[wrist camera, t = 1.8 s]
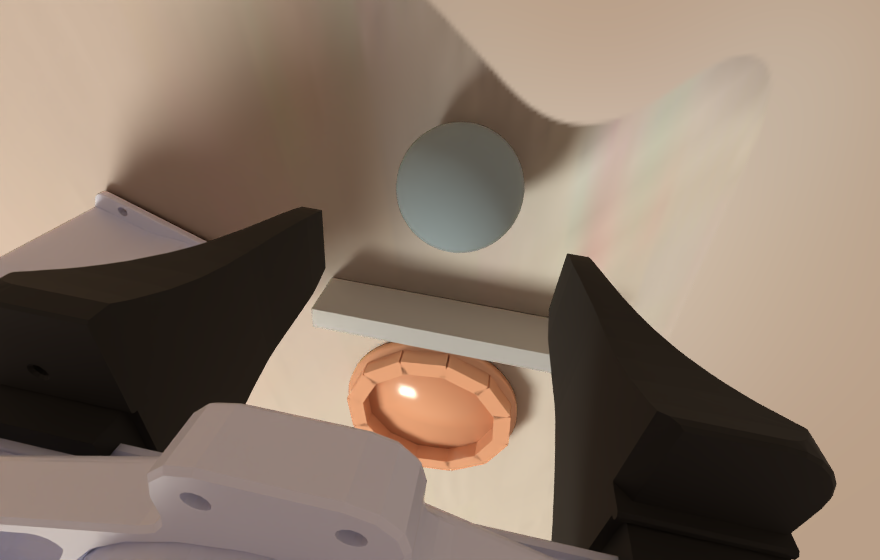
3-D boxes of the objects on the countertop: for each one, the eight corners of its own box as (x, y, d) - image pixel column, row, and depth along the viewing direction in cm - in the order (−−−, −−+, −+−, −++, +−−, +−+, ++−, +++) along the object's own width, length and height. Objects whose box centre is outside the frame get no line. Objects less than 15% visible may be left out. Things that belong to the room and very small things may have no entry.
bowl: (329, 408, 31) (321, 427, 30) (391, 309, 25) (383, 328, 23) (463, 470, 32) (460, 491, 31) (552, 392, 26) (553, 414, 25)
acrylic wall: (332, 294, 25) (313, 326, 22) (332, 277, 24) (311, 308, 22) (561, 337, 24) (565, 375, 21) (567, 321, 23) (572, 359, 21)
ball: (394, 183, 20) (360, 235, 16) (444, 83, 17) (418, 115, 13) (485, 235, 21) (475, 297, 17) (548, 147, 18) (554, 196, 14)
